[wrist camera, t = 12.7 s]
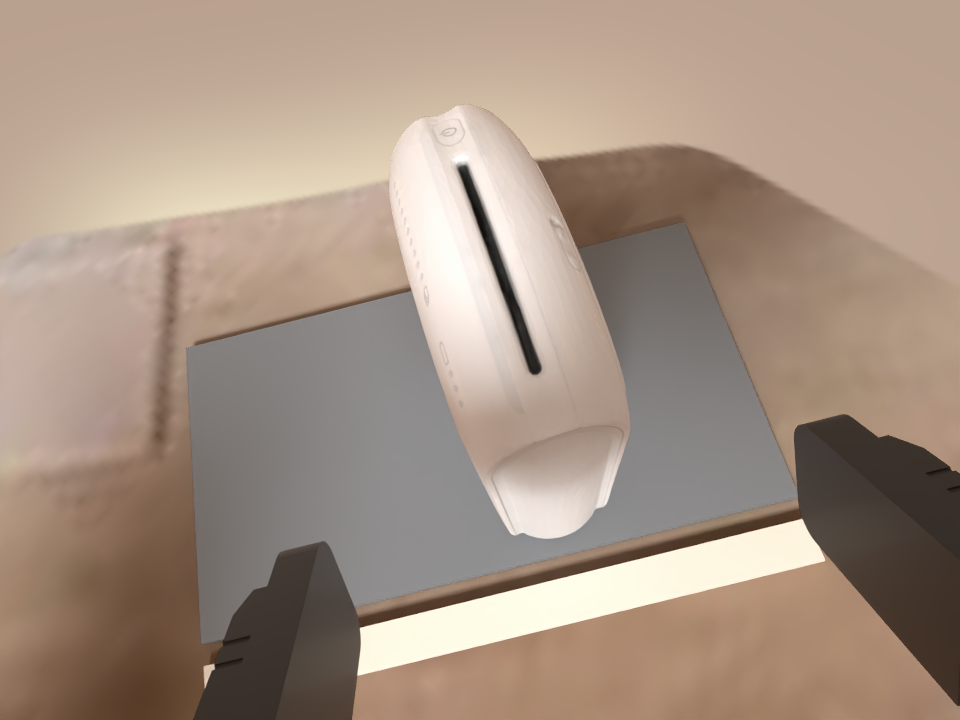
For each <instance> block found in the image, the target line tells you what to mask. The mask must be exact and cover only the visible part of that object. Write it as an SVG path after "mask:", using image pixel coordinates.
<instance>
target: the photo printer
mask: <svg viewBox="0 0 960 720" xmlns="http://www.w3.org/2000/svg"><path fill="white" fill-rule="evenodd" d="M389 194H390V203H391V210H392V214H393V219H394V224H395V228H396V233H397V237H398V241H399V245H400V249H401V253H402V257H403V261H404V265H405V268H406V272H407V275H408V279H409V283H410V286H411V290H412V293H413V297H414V300H415V303H416V306H417V310H418V313H419V317H420V320H421V323H422V327H423V330H424V333H425V336H426V340H427V343H428V346H429V349H430V352H431V355H432V359H433V362H434V365H435V368H436V371H437V374H438V377H439V380H440V383H441V386H442V389H443V391H444V394H445V397H446V400H447V403H448V406H449V409H450V412H451V415H452V417H453V420H454V423H455V426H456V428H457V430H458V433H459V435H460V438H461V440H462V442H463V444H464V446H465V448H466V450H467V452H468V455H469V457H470V459H471V461H472V463H473V465H474V467H475V469H476V471H477V473H478V475H479V477H480V479H481V481H482V483H483V485H484V487H485V489H486V491H487V493H488V495H489V497H490V499H491V501H492V502H493V504H494V506H495V508H496V510H497V512H498V514H499V515H500V517H501V519H502V521H503V523H504V524H505V526H506V527H507V529H508V531H509V532H510V533H511V534H512V535H518V534H520V533H525V534H527V535H529V536H532V537H536V538H543V539H552V538H559V537H563V536H566V535H569V534H571V533H573V532H575V531H577V530H578V529H580V528H581V527H582V526H583V525H584V524H585V523H586V522H587V521H588V520H589V519H590V517H591V516H592V514H593V513H594V511H595V510H596V509H597V508H601V507H604V506H605V505H606V504H607V502H608V500H609V496H610V493H611V489H612V486H613V483H614V480H615V476H616V474H617V470H618V467H619V464H620V461H621V458H622V455H623V453H624V449H625V446H626V443H627V440H628V437H629V434H630V418H629V410H628V404H627V397H626V387H625V382H624V378H623V374H622V371H621V367H620V364H619V360H618V357H617V354H616V351H615V348H614V345H613V342H612V339H611V336H610V333H609V330H608V327H607V324H606V322H605V319H604V316H603V313H602V311H601V308H600V305H599V302H598V300H597V297H596V295H595V292H594V289H593V287H592V284H591V281H590V279H589V276H588V274H587V271H586V269H585V266H584V264H583V261H582V259H581V256H580V254H579V252H578V249H577V247H576V245H575V242H574V240H573V238H572V235H571V233H570V231H569V228H568V226H567V224H566V222H565V219H564V217H563V215H562V213H561V211H560V208H559V206H558V204H557V202H556V200H555V198H554V196H553V194H552V192H551V190H550V188H549V185H548V184H547V182H546V180H545V178H544V176H543V174H542V172H541V170H540V168H539V166H538V164H537V163H536V162H535V160H534V159H533V158H532V157H531V156H530V154H529V152H528V151H527V149H526V148H525V147H524V145H523V144H522V142H521V141H520V140H519V139H518V138H517V136H516V135H515V134H514V133H513V132H512V131H511V130H510V129H509V128H508V127H507V126H506V125H505V124H504V123H503V122H502V121H501V120H500V119H499V118H498V117H496V116H495V115H494V114H492V113H490V112H489V111H487V110H485V109H483V108H480V107H476V106H473V105H469V104H462V105H457V106H456V107H454V108H453V109H451V110H450V111H448V112H446V113H443V114H441V115H437V116H432V117H422V118H420V119H418V120H417V121H415V122H414V123H413V124H411V126H409V127H408V129H407V130H406V131H405V132H404V133H403V135H402V136H401V138H400V139H399V141H398V142H397V144H396V146H395V149H394V151H393V154H392V157H391V166H390V175H389Z"/></svg>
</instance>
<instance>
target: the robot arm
mask: <svg viewBox="0 0 960 720" xmlns="http://www.w3.org/2000/svg"><path fill="white" fill-rule="evenodd" d="M794 446H795V461H796V476H797V491H798V503H799V509H800V513H801V516H802V519H803V522H804V524H805V526H806V528H807V530H808V532H809V534H810V535H811V537H812V538H813V540H814V541H815V542H816V543H817V544H818V546H819V547H820V548H821V549H822V550H823V551H824V552H825V554H826V555H827V556H828V557H829V558H830V559H831V561H832V562H833V563H834V564H835V565H836V566H837V568H838V569H839V570H840V571H841V572H842V573H843V574H844V576H845V577H846V578H847V579H848V580H849V581H850V583H851V584H852V585H853V586H854V587H855V588H856V589H857V591H858V592H859V593H860V594H861V595H862V596H863V598H864V599H865V600H866V601H867V602H868V603H869V604H870V606H871V607H872V608H873V609H874V610H875V611H876V613H877V614H878V615H879V616H880V617H881V618H882V619H883V621H884V622H885V623H886V624H887V625H888V626H889V628H890V629H891V630H892V631H893V632H894V633H895V634H896V636H897V637H898V638H899V639H900V640H901V641H902V643H903V644H904V645H905V646H906V647H907V648H908V650H909V651H910V652H911V653H912V654H913V655H914V656H915V658H916V659H917V660H918V661H919V662H920V663H921V665H922V666H923V667H924V668H925V669H926V670H927V671H928V673H929V674H930V675H931V676H932V677H933V678H934V680H935V681H936V682H937V683H938V684H939V685H940V686H941V688H942V689H943V690H944V691H945V692H946V693H947V695H948V696H949V697H950V698H951V699H952V700H953V701H954V703H955V704H956V705H957V706H960V473H958V472H957V471H951V469H950V466H948V465H947V464H945V463H944V462H943V461H941V460H940V459H938V458H937V457H936V456H934V455H933V454H931V453H930V452H929V451H927V450H926V449H924V448H922V447H919V446H917V445H914V444H911V443H908V442H906V441H903V440H900V439H898V438H895V437H892V436H889V435H888V436H883V437H879V438H878V437H877V436H876V435H874V434H873V433H872V432H870V431H869V430H868V429H866V428H865V427H864V426H862V425H861V424H860V423H859V422H857V421H856V420H855V419H853V418H852V417H850V416H849V415H846V414H842V415H838V416H834V417H830V418H826V419H822V420H818V421H814V422H810V423H806V424H802V425H798V426H797V427H796V429H795V432H794ZM360 649H361V634H360V626H359V621H358V616H357V613H356V610H355V607H354V604H353V602H352V599H351V597H350V595H349V592H348V590H347V587H346V585H345V582H344V580H343V577H342V575H341V572H340V570H339V567H338V565H337V562H336V560H335V558H334V555H333V553H332V550H331V548H330V547H329V545H328V544H327V543H326V542H325V541H322V542H318V543H314V544H309V545H305V546H301V547H297V548H293V549H289V550H285V551H281V552H280V553H279V554H278V556H277V558H276V561H275V564H274V567H273V570H272V573H271V576H270V579H269V582H268V585H267V586H266V587H262V588H258V589H254V590H253V591H252V592H251V593H250V595H249V596H248V597H247V598H246V600H245V601H244V602H243V603H242V605H241V606H240V607H239V608H238V610H237V611H236V612H235V613H234V615H233V616H232V619H231V621H230V624H229V627H228V629H227V632H226V635H225V637H224V640H223V647H221V648H220V650H219V653H218V656H217V658H216V661H215V664H214V666H215V670H212V671H211V674H210V677H209V679H208V682H207V685H206V687H205V690H204V692H203V695H202V698H201V700H200V703H199V706H198V708H197V711H196V713H195V716H194V719H193V720H352V713H353V705H354V697H355V689H356V682H357V674H358V666H359V658H360Z"/></svg>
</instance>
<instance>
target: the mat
mask: <svg viewBox="0 0 960 720" xmlns="http://www.w3.org/2000/svg"><path fill="white" fill-rule="evenodd" d="M578 252H579V254H580V256H581V259H582V261H583V264H584V266H585V269H586V271H587V274H588V276H589V279H590V281H591V284H592V287H593V289H594V292H595V295H596V297H597V300H598V302H599V305H600V308H601V311H602V313H603V316H604V319H605V322H606V324H607V327H608V330H609V333H610V336H611V339H612V342H613V345H614V348H615V351H616V354H617V357H618V360H619V364H620V367H621V371H622V374H623V378H624V382H625V387H626V397H627V404H628V410H629V418H630V434H629V437H628V440H627V443H626V446H625V449H624V453H623V455H622V458H621V461H620V464H619V467H618V470H617V474H616V476H615V480H614V483H613V486H612V489H611V493H610V496H609V500H608V502H607V504H606V505H605V506H604V507H601V508H597V509H596V510H595V511H594V513H593V514H592V516H591V517H590V519H589V520H588V521H587V522H586V523H585V524H584V525H583V526H582V527H581V528H580V529H578V530H577V531H575V532H573V533H571V534H569V535H566V536H563V537H559V538H552V539H543V538H536V537H532V536H529V535H527V534H525V533H520V534H518V535H512V534H511V533H510V532H509V531H508V529H507V527H506V526H505V524H504V523H503V521H502V519H501V517H500V515H499V514H498V512H497V510H496V508H495V506H494V504H493V502H492V501H491V499H490V497H489V495H488V493H487V491H486V489H485V487H484V485H483V483H482V481H481V479H480V477H479V475H478V473H477V471H476V469H475V467H474V465H473V463H472V461H471V459H470V457H469V455H468V452H467V450H466V448H465V446H464V444H463V442H462V440H461V438H460V435H459V433H458V430H457V428H456V426H455V423H454V420H453V417H452V415H451V412H450V409H449V406H448V403H447V400H446V397H445V394H444V391H443V389H442V386H441V383H440V380H439V377H438V374H437V371H436V368H435V365H434V362H433V359H432V355H431V352H430V349H429V346H428V343H427V340H426V336H425V333H424V330H423V327H422V323H421V320H420V317H419V313H418V310H417V306H416V303H415V300H414V297H413V293H412V291H409V292H405V293H401V294H397V295H393V296H389V297H385V298H381V299H377V300H373V301H369V302H365V303H361V304H357V305H353V306H350V307H346V308H342V309H338V310H334V311H330V312H326V313H322V314H318V315H314V316H310V317H306V318H302V319H298V320H294V321H291V322H287V323H283V324H279V325H275V326H271V327H267V328H263V329H259V330H255V331H251V332H247V333H243V334H239V335H235V336H231V337H228V338H224V339H220V340H216V341H212V342H208V343H204V344H200V345H196V346H192V347H188V348H186V355H187V375H188V395H189V414H190V434H191V454H192V474H193V494H194V514H195V534H196V553H197V573H198V593H199V613H200V633H201V644H209V643H213V642H218V641H222V640H224V637H225V635H226V632H227V629H228V627H229V624H230V621H231V619H232V616H233V615H234V613H235V612H236V611H237V610H238V608H239V607H240V606H241V605H242V603H243V602H244V601H245V600H246V598H247V597H248V596H249V595H250V593H251V592H252V591H253V590H254V589H258V588H262V587H266V586H267V585H268V582H269V579H270V576H271V573H272V570H273V567H274V564H275V561H276V558H277V556H278V554H279V553H280V552H281V551H285V550H289V549H293V548H297V547H301V546H305V545H309V544H314V543H318V542H322V541H325V542H326V543H327V544H328V545H329V547H330V548H331V550H332V553H333V555H334V558H335V560H336V562H337V565H338V567H339V570H340V572H341V575H342V577H343V580H344V582H345V585H346V587H347V590H348V592H349V595H350V597H351V599H352V602H353V604H354V607H359V606H363V605H367V604H371V603H375V602H379V601H384V600H388V599H392V598H396V597H400V596H404V595H408V594H412V593H416V592H420V591H424V590H428V589H432V588H436V587H440V586H444V585H448V584H452V583H456V582H460V581H465V580H469V579H473V578H477V577H481V576H485V575H489V574H493V573H497V572H501V571H505V570H509V569H513V568H517V567H521V566H525V565H529V564H533V563H537V562H541V561H546V560H550V559H554V558H558V557H562V556H566V555H570V554H574V553H578V552H582V551H586V550H590V549H594V548H598V547H602V546H606V545H610V544H614V543H618V542H622V541H627V540H631V539H635V538H639V537H643V536H647V535H651V534H655V533H659V532H663V531H667V530H671V529H675V528H679V527H683V526H687V525H691V524H695V523H699V522H703V521H708V520H712V519H716V518H720V517H724V516H728V515H732V514H736V513H740V512H744V511H748V510H752V509H756V508H760V507H764V506H768V505H772V504H776V503H780V502H784V501H789V500H793V499H796V498H797V497H798V492H797V489H796V487H795V485H794V482H793V480H792V477H791V475H790V473H789V470H788V468H787V466H786V463H785V461H784V458H783V456H782V454H781V451H780V449H779V446H778V444H777V442H776V439H775V437H774V435H773V432H772V430H771V427H770V425H769V423H768V420H767V418H766V415H765V413H764V411H763V408H762V406H761V404H760V401H759V399H758V396H757V394H756V392H755V389H754V387H753V384H752V382H751V380H750V377H749V375H748V373H747V370H746V368H745V365H744V363H743V361H742V358H741V356H740V353H739V351H738V349H737V346H736V344H735V342H734V339H733V337H732V334H731V332H730V330H729V327H728V325H727V322H726V320H725V318H724V315H723V313H722V311H721V308H720V306H719V303H718V301H717V299H716V296H715V294H714V291H713V289H712V287H711V284H710V282H709V280H708V277H707V275H706V272H705V270H704V268H703V265H702V263H701V261H700V258H699V256H698V253H697V251H696V249H695V246H694V244H693V241H692V239H691V237H690V234H689V232H688V230H687V227H686V225H685V222H680V223H676V224H672V225H668V226H664V227H660V228H656V229H653V230H649V231H645V232H641V233H637V234H633V235H629V236H625V237H621V238H617V239H613V240H609V241H605V242H601V243H597V244H593V245H590V246H586V247H582V248H578ZM823 561H825V559H824V557H823V554H822V552H821V549H820V547H819V546H818V544H817V543H816V542H815V541H814V540H813V538H812V537H811V535H810V534H809V532H808V530H807V528H806V526H805V524H804V522H803V519H800V520H796V521H792V522H788V523H784V524H780V525H776V526H772V527H768V528H763V529H759V530H755V531H751V532H747V533H743V534H739V535H735V536H731V537H727V538H723V539H719V540H715V541H711V542H707V543H703V544H699V545H694V546H690V547H686V548H682V549H678V550H674V551H670V552H666V553H662V554H658V555H654V556H650V557H646V558H642V559H638V560H634V561H630V562H625V563H621V564H617V565H613V566H609V567H605V568H601V569H597V570H593V571H589V572H585V573H581V574H577V575H573V576H569V577H565V578H561V579H556V580H552V581H548V582H544V583H540V584H536V585H532V586H528V587H524V588H520V589H516V590H512V591H508V592H504V593H500V594H496V595H492V596H487V597H483V598H479V599H475V600H471V601H467V602H463V603H459V604H455V605H451V606H447V607H443V608H439V609H435V610H431V611H427V612H423V613H418V614H414V615H410V616H406V617H402V618H398V619H394V620H390V621H386V622H382V623H378V624H374V625H370V626H366V627H362V628H360V634H361V649H360V658H359V666H358V674H357V676H359V675H363V674H367V673H371V672H375V671H379V670H383V669H387V668H391V667H395V666H400V665H404V664H408V663H412V662H416V661H420V660H424V659H428V658H432V657H436V656H440V655H444V654H448V653H453V652H457V651H461V650H465V649H469V648H473V647H477V646H481V645H485V644H489V643H493V642H497V641H501V640H506V639H510V638H514V637H518V636H522V635H526V634H530V633H534V632H538V631H542V630H546V629H550V628H554V627H559V626H563V625H567V624H571V623H575V622H579V621H583V620H587V619H591V618H595V617H599V616H603V615H607V614H612V613H616V612H620V611H624V610H628V609H632V608H636V607H640V606H644V605H648V604H652V603H656V602H660V601H665V600H669V599H673V598H677V597H681V596H685V595H689V594H693V593H697V592H701V591H705V590H709V589H713V588H718V587H722V586H726V585H730V584H734V583H738V582H742V581H746V580H750V579H754V578H758V577H762V576H766V575H771V574H775V573H779V572H783V571H787V570H791V569H795V568H799V567H803V566H807V565H811V564H815V563H819V562H823ZM212 670H215V666H214V664H212V665H207V666H204V684H205V687H206V685H207V682H208V679H209V677H210V674H211V671H212Z"/></svg>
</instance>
